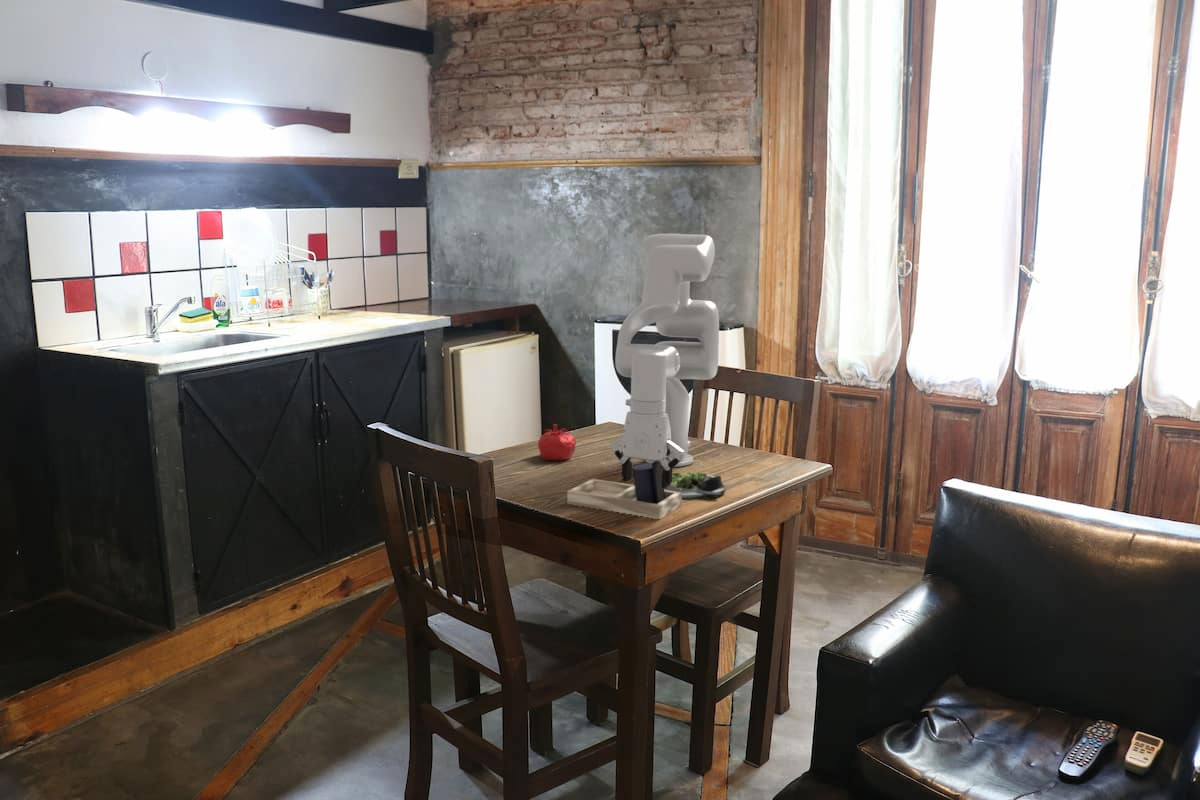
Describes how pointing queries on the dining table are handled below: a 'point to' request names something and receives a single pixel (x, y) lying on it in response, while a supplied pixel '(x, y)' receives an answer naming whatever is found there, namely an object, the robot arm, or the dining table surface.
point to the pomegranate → (556, 445)
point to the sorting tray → (621, 499)
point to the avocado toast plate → (696, 485)
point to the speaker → (648, 482)
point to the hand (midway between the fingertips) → (646, 483)
